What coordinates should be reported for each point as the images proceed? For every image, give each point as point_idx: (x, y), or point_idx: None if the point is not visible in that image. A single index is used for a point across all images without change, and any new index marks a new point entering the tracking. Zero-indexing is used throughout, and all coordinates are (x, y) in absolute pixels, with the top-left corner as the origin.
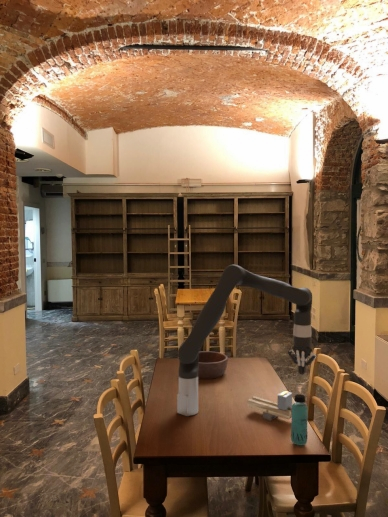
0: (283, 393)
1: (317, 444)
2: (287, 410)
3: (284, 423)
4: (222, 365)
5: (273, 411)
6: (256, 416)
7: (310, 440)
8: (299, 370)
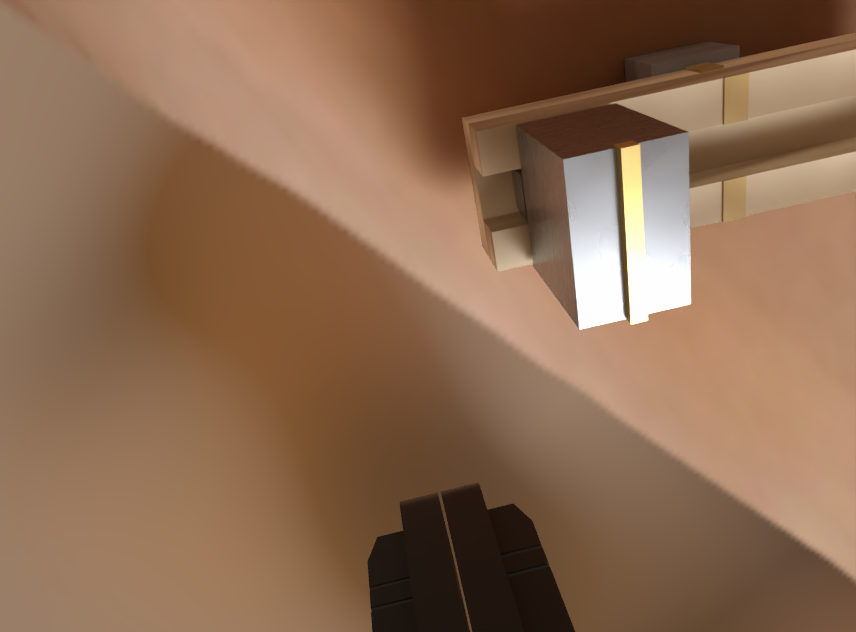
0: (653, 235)
1: (49, 16)
2: (511, 156)
3: None
4: None
5: (642, 86)
6: (775, 31)
7: (143, 32)
8: (496, 543)
